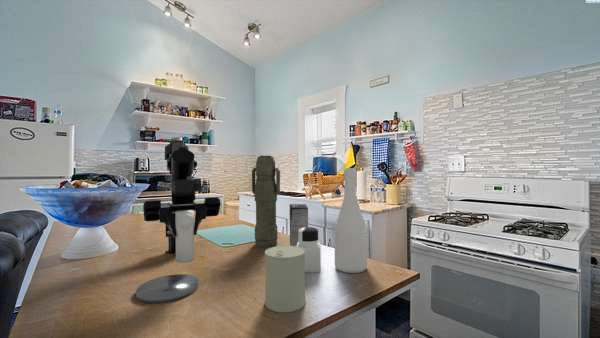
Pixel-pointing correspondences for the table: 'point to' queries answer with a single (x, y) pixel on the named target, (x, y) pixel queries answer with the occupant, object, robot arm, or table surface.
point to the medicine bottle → (310, 248)
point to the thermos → (266, 201)
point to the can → (285, 278)
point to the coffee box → (297, 221)
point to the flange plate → (167, 288)
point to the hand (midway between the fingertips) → (185, 235)
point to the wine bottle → (350, 230)
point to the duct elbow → (184, 236)
